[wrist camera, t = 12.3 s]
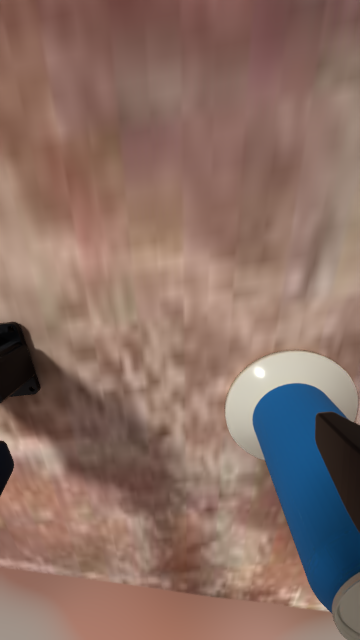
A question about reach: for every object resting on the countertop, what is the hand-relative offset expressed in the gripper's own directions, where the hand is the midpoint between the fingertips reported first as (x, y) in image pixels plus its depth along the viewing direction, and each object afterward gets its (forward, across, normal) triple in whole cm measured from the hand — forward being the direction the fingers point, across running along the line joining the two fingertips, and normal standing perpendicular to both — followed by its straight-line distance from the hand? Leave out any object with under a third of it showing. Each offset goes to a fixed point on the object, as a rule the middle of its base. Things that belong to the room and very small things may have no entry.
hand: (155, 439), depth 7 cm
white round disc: (+13, -8, +10) cm, 18 cm away
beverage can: (+13, -8, +9) cm, 18 cm away
